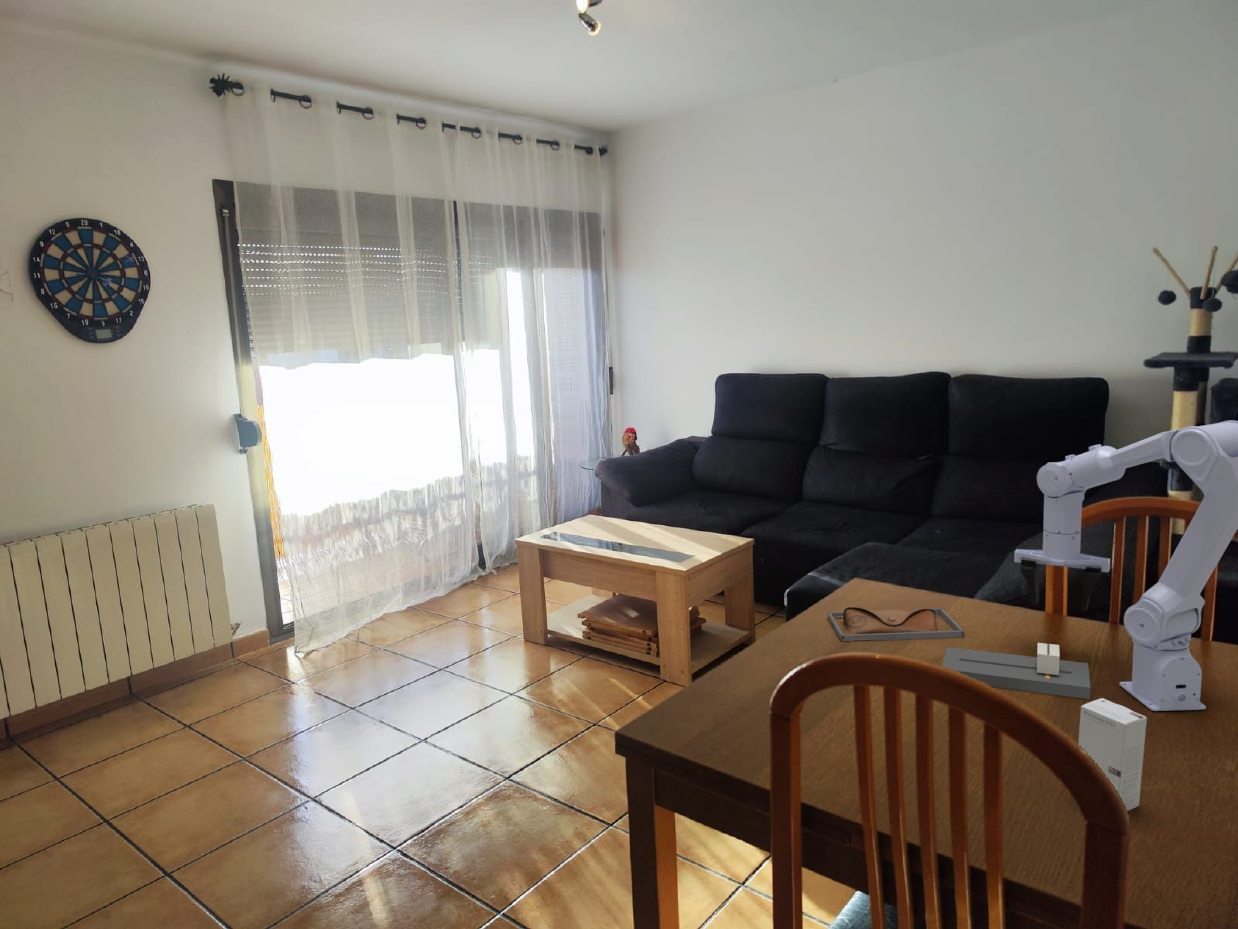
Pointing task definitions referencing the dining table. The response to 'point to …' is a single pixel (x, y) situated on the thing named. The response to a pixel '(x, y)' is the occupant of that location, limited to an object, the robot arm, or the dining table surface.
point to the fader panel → (1020, 672)
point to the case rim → (907, 635)
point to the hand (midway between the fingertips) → (1059, 606)
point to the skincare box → (1115, 745)
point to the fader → (1048, 658)
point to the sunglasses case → (888, 620)
